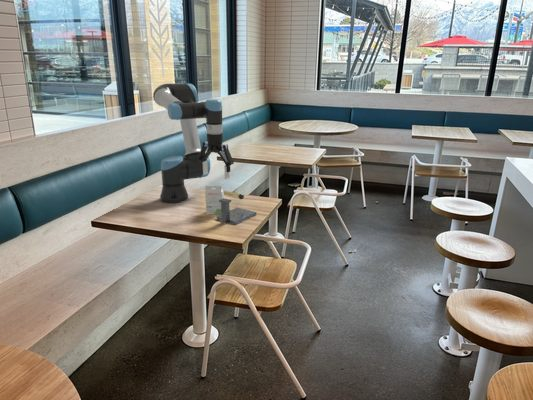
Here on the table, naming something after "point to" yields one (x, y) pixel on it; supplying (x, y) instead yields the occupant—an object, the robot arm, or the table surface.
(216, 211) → the ink box
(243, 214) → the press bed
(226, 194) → the lever
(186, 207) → the table surface
